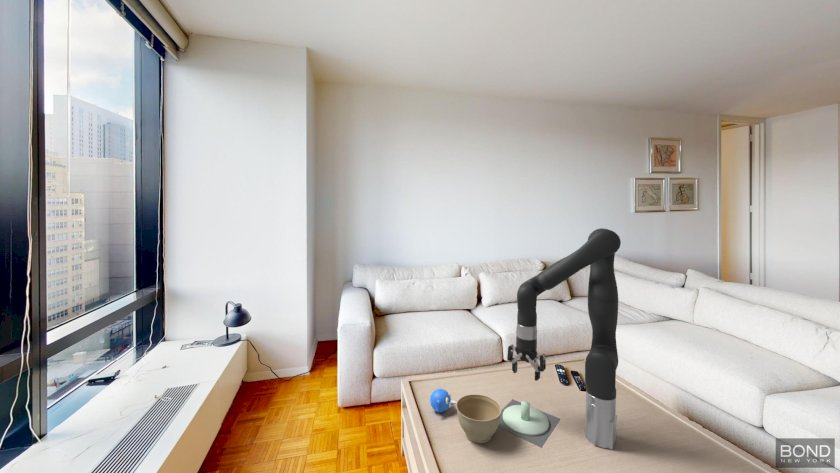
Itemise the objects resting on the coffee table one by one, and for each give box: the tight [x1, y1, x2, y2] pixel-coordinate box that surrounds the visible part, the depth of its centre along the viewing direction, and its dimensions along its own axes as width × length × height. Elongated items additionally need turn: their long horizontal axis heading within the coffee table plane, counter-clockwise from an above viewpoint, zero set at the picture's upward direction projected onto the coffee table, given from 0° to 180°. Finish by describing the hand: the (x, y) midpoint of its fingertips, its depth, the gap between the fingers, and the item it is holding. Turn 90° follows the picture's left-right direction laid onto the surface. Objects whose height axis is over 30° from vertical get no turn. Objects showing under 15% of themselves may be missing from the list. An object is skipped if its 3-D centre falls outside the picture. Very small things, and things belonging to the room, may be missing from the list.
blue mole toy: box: [429, 388, 457, 413], centre depth 130 cm, size 12×12×8 cm
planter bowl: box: [455, 393, 502, 444], centre depth 115 cm, size 16×16×11 cm
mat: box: [498, 399, 561, 448], centre depth 123 cm, size 20×20×1 cm
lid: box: [503, 400, 549, 436], centre depth 122 cm, size 17×17×7 cm
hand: (525, 376), depth 121 cm, fingers open, 8 cm apart
